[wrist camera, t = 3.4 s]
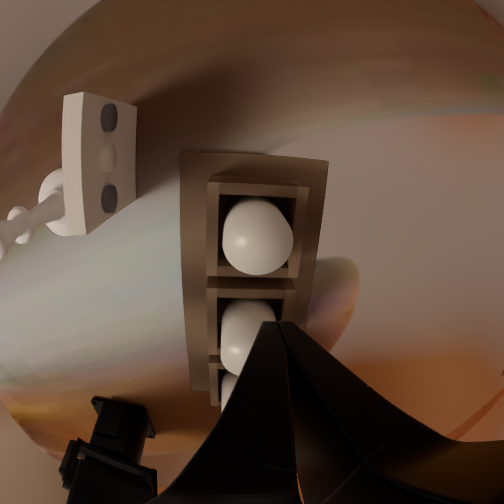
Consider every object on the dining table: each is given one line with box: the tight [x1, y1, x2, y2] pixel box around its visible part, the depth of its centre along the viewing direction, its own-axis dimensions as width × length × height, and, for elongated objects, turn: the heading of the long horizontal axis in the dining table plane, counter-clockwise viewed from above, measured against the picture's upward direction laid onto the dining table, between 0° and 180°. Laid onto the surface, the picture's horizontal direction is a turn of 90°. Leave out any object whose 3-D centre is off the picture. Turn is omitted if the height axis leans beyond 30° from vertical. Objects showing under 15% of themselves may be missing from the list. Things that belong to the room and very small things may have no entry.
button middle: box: [221, 298, 276, 376], centre depth 16 cm, size 3×3×4 cm
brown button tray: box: [180, 152, 329, 406], centre depth 19 cm, size 20×9×3 cm, turn 176°
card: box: [62, 92, 137, 235], centre depth 12 cm, size 6×1×7 cm, turn 176°
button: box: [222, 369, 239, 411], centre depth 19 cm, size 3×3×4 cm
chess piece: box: [0, 168, 73, 260], centre depth 12 cm, size 5×5×10 cm
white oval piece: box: [223, 195, 293, 275], centre depth 15 cm, size 3×3×4 cm
